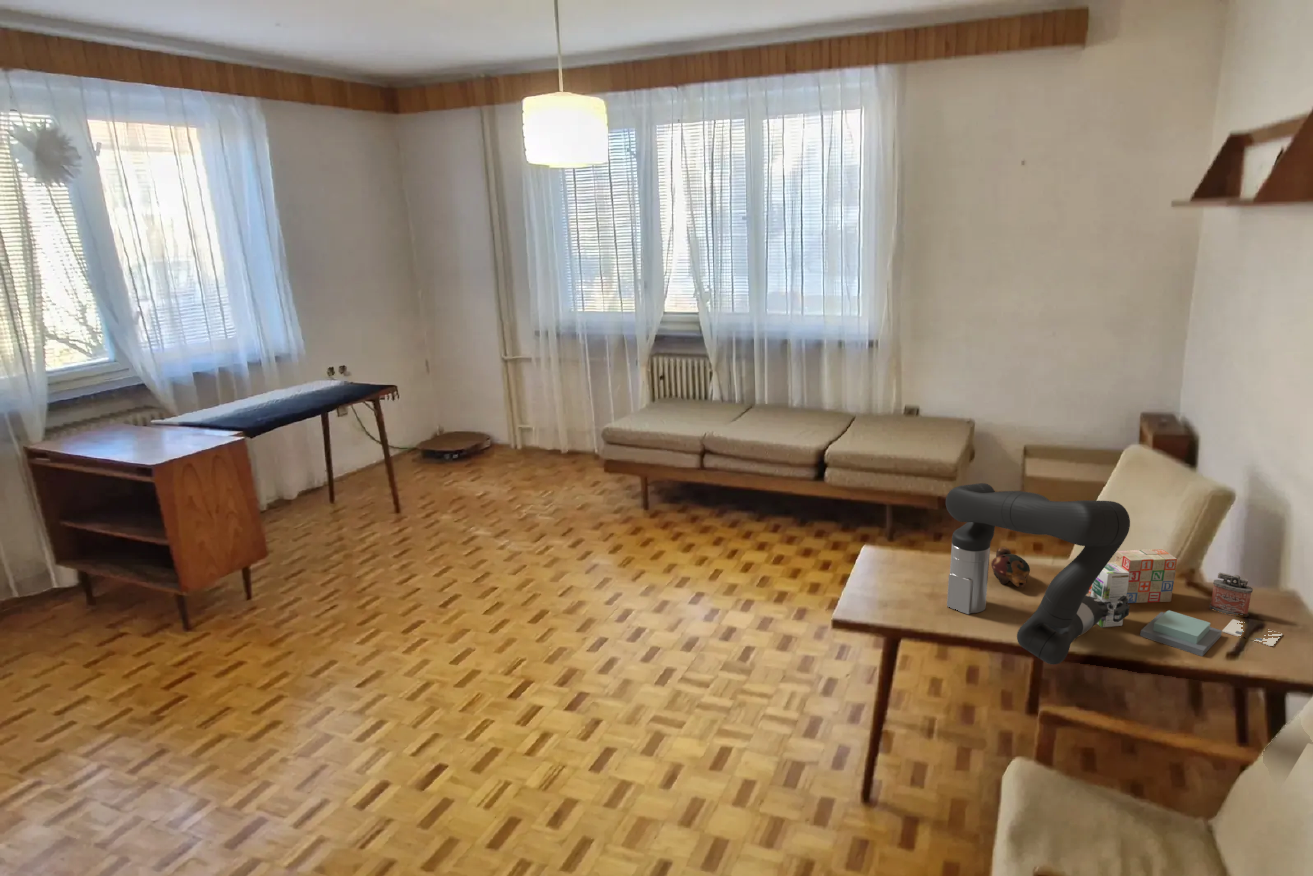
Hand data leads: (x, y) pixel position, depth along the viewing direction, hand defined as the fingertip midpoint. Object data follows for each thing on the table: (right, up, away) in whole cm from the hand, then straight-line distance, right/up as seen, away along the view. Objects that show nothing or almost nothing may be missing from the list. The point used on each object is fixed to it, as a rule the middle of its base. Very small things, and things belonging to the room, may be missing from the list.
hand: (1105, 593), depth 197 cm
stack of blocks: (+13, -4, +15) cm, 20 cm away
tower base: (+15, -9, -5) cm, 18 cm away
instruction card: (+32, -9, -5) cm, 34 cm away
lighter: (+34, -6, +6) cm, 35 cm away
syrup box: (+2, -8, +4) cm, 9 cm away
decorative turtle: (-12, -2, +27) cm, 29 cm away
